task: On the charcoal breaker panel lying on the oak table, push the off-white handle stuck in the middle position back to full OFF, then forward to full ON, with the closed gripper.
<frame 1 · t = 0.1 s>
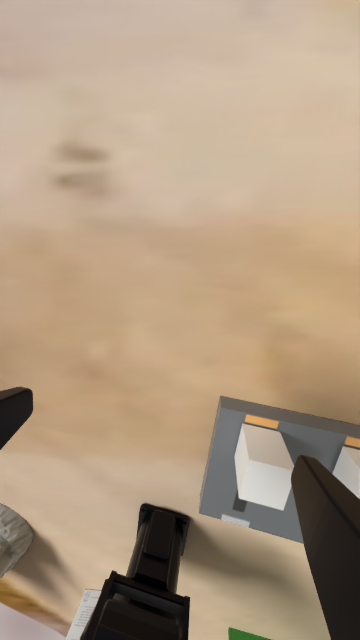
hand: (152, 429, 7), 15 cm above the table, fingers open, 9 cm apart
breaker panel: (329, 478, 22), on the table
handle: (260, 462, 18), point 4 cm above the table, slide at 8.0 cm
light bulb box: (113, 610, 34), on the table
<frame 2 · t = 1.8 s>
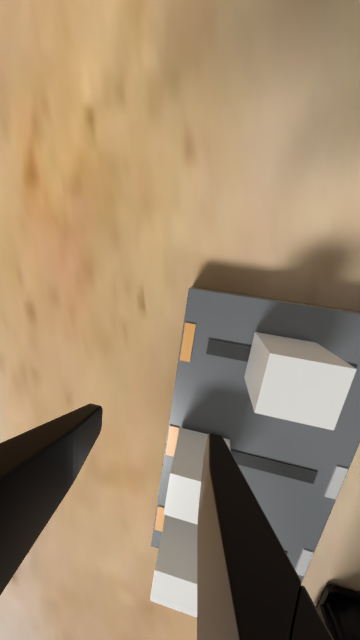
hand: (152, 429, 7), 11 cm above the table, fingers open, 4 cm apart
breaker panel: (246, 441, 19), on the table
handle mid: (199, 473, 15), point 4 cm above the table, slide at 8.0 cm
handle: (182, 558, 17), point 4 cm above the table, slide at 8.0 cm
tripped handle: (288, 374, 12), point 4 cm above the table, slide at 4.0 cm
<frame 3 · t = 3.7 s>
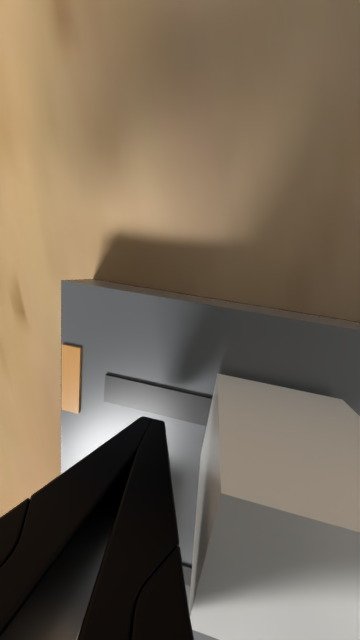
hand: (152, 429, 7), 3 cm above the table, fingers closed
breaker panel: (196, 525, 12), on the table
handle mid: (86, 623, 8), point 4 cm above the table, slide at 8.0 cm
tripped handle: (283, 486, 5), point 4 cm above the table, slide at 2.8 cm, touching gripper
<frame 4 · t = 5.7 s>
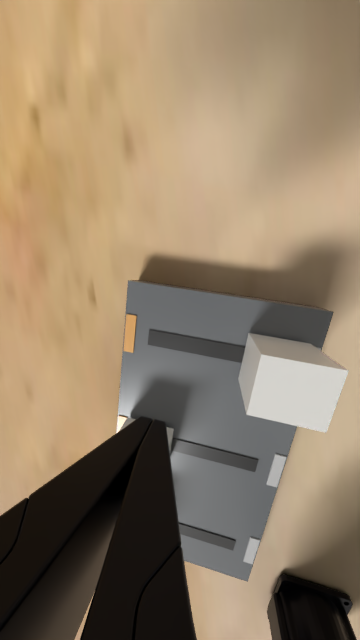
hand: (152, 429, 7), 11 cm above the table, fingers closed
breaker panel: (197, 431, 19), on the table
handle mid: (139, 461, 15), point 4 cm above the table, slide at 8.0 cm
tripped handle: (281, 375, 12), point 4 cm above the table, slide at -0.1 cm
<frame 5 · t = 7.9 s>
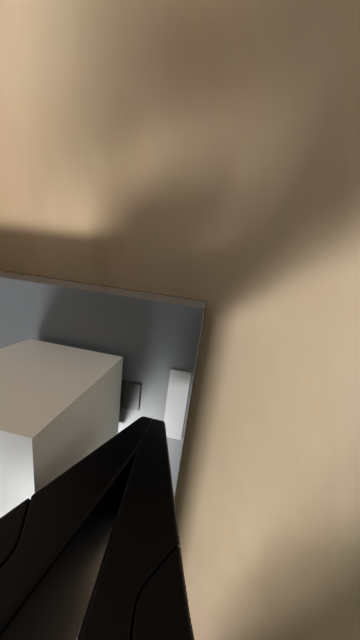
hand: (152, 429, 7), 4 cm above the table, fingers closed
breaker panel: (64, 486, 13), on the table
tripped handle: (32, 420, 6), point 4 cm above the table, slide at 1.7 cm, touching gripper
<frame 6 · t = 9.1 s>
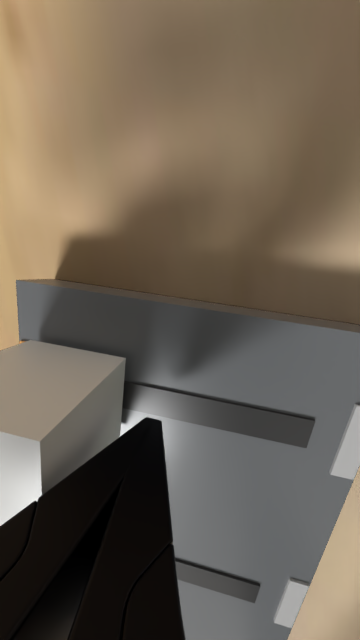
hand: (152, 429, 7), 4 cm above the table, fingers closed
breaker panel: (163, 515, 12), on the table
tripped handle: (35, 422, 6), point 4 cm above the table, slide at 8.2 cm, touching gripper
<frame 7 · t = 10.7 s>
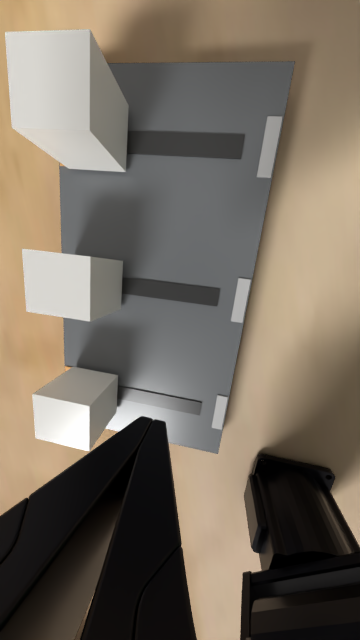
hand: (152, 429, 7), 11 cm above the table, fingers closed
breaker panel: (156, 287, 17), on the table
handle mid: (79, 283, 13), point 4 cm above the table, slide at 8.0 cm
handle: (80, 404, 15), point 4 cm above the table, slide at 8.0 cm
tripped handle: (76, 115, 11), point 4 cm above the table, slide at 8.1 cm
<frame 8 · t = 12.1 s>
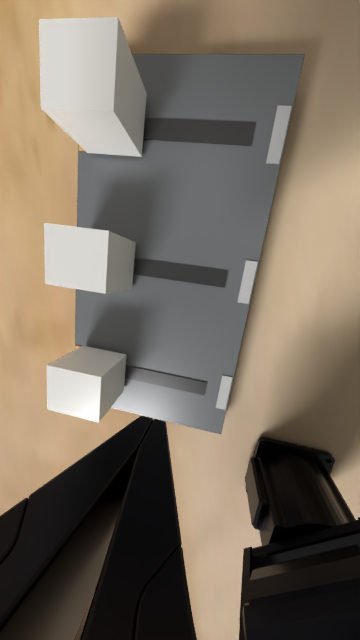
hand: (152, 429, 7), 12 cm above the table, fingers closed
breaker panel: (166, 270, 17), on the table
handle mid: (94, 261, 14), point 4 cm above the table, slide at 8.0 cm
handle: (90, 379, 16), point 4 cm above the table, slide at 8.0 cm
tripped handle: (99, 100, 12), point 4 cm above the table, slide at 8.1 cm
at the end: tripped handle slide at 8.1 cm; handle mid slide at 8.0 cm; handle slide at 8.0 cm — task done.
